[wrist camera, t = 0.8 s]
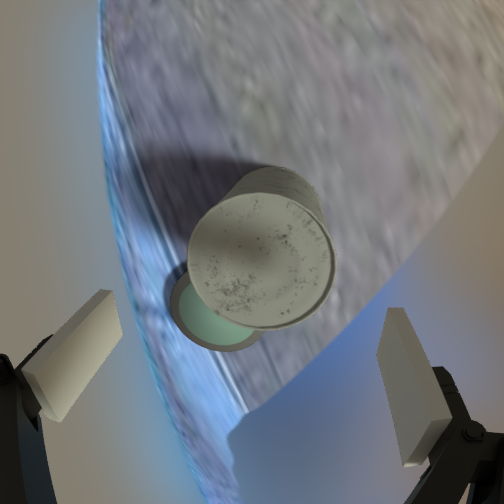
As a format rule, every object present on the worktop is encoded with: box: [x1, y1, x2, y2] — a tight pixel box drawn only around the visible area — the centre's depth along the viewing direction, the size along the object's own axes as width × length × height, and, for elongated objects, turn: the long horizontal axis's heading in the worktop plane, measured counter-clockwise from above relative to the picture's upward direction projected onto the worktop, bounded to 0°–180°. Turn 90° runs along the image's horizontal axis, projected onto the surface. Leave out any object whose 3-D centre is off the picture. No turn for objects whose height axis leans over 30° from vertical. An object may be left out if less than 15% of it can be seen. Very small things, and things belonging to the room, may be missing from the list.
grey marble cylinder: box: [187, 167, 337, 331], centre depth 26 cm, size 10×10×12 cm
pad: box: [170, 270, 264, 352], centre depth 35 cm, size 11×11×2 cm
